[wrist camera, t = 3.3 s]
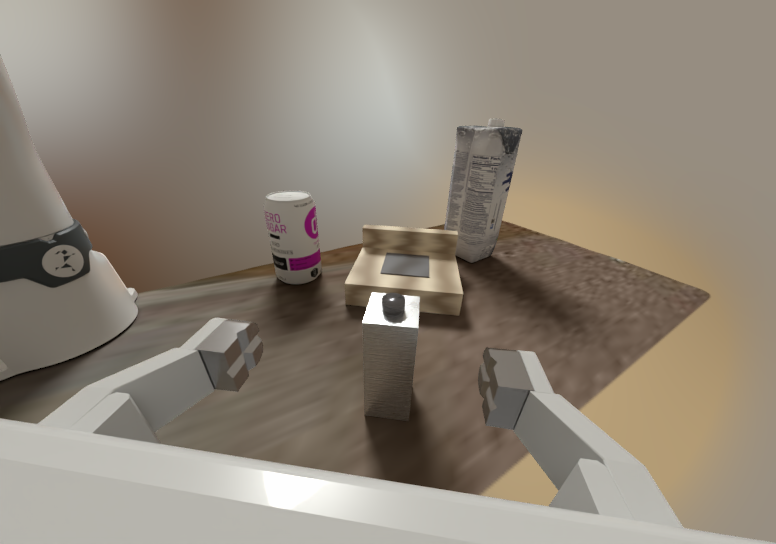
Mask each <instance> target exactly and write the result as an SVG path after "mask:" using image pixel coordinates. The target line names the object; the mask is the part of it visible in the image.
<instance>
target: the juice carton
mask: <svg viewBox="0 0 776 544" xmlns="http://www.w3.org/2000/svg"><path fill="white" fill-rule="evenodd" d="M504 123H505V120H502V119H489V123H488V127H484V126H459V127H457V136H456V146H455V153H454V161H453V168H452V176H451V183H450V191H449V199H448V206H447V213H446V221H445V229H444V230H450V231H457V232H458V239H457V245H456V252H455V255H456V256H458V257H460V258H462V259H464V260H466V261H468V262H471V263H473V262H476V261H478V260H481V259H483V258H486V257H489V256H491V254H492V252H493V250H494V247H495V245H496V242H497V238H498V234H499V229H500V225H501V221H502V216H503V212H504V208H505V203H506V199H507V195H508V191H509V187H510V182H511V178H512V174H513V169H514V165H515V161H516V156H517V151H518V146H519V142H520V137H521V134H522V129H520V128H512V127H504Z"/></svg>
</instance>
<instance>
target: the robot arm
mask: <svg viewBox="0 0 776 544" xmlns="http://www.w3.org/2000/svg"><path fill="white" fill-rule="evenodd" d="M91 249H92V244H91V242H90V241H89V238H88V235H87V233H86V231H85V230H84V229H83V228H82V226H81V225H80V223H79V222H78V221H77V220H75V219H72V218H71V216H70V214H69V212H68V210H67V208H66V206H65V204H64V202H63V201H62V199H61V197H60V195H59V193H58V191H57V190H56V188H55V186H54V184H53V182H52V180H51V179H50V177H49V175H48V173H47V171H46V169H45V167H44V166H43V164H42V162H41V159H40V157H39V155H38V153H37V151H36V149H35V147H34V144H33V142H32V139H31V136H30V134H29V131H28V128H27V125H26V122H25V118H24V115H23V113H22V110H21V107H20V104H19V101H18V99H17V96H16V93H15V90H14V88H13V85H12V83H11V80H10V78H9V75H8V72H7V70H6V68H5V65H4V63H3V61H2V58H1V56H0V381H1V380H4V379H6V378H9V377H11V376H14V375H16V374H19V373H23V372H26V371H30V370H34V369H39V368H43V367H46V366H50V365H53V364H57V363H60V362H63V361H66V360H68V359H71V358H74V357H76V356H79V355H81V354H83V353H86V352H88V351H90V350H92V349H94V348H96V347H98V346H100V345H102V344H104V343H105V342H107V341H109V340H110V339H112V338H114V337H115V336H117V335H118V334H119V333H121V332H122V331H123V330H125V329H126V328H127V327H128V326H129V325H130V324H131V323H132V322H133V321H134V319H135V318H136V316H137V313H138V308H137V306H136V305H135V302H134V301H135V300H136V298H137V295H138V294H137V292H136V291H135V289H133V288H126V286H125V285H124V283H123V282H122V280H121V279H120V277H119V276H118V274H117V273H116V271H115V270H114V268H113V267H112V265H111V264H110V262H109V261H108V259H107V258H106V257H105V255H103V254H102V253H99V252H96V251H92V250H91ZM258 332H259V328H258V325H257V324H256V323H254V322H248V321H240V320H233V319H223V318H213V319H211V320H210V321H209V322H208V323H207V324H206V325H204V326H203V327H202V328H201V329H200V330H199V331H198V332H197V333H196V334H194V335H193V336H192V337H191V338H190V339H189V340H188V341H187V342H186V343H185V344H183V345H182V346H181V347H180V348H173V349H171V350H169V351H167V352H164V353H162V354H160V355H157V356H155V357H153V358H150V359H148V360H146V361H143V362H141V363H139V364H136V365H134V366H132V367H130V368H127V369H125V370H123V371H120V372H118V373H116V374H113V375H111V376H109V377H106V378H104V379H102V380H99V381H97V382H95V383H93V384H90V385H88V386H86V387H85V388H83V389H82V390H81V391H79V392H78V393H77V394H76V395H74V396H73V397H72V398H70V399H69V400H68V401H66V402H65V403H64V404H63V405H61V406H60V407H59V408H57V409H56V410H55V411H54V412H52V413H51V414H50V415H48V416H47V417H46V418H45V419H43V420H42V421H41V422H39V423H38V424H32V423H26V422H20V421H14V420H8V419H1V418H0V544H776V543H773V542H767V541H761V540H754V539H748V538H742V537H736V536H730V535H723V534H717V533H711V532H705V531H698V530H692V529H686V528H683V527H682V525H681V523H680V522H679V520H678V518H677V517H676V515H675V513H674V512H673V510H672V509H671V507H670V506H669V504H668V503H667V501H666V499H665V498H664V496H663V494H662V493H661V491H660V489H659V488H658V486H657V485H656V483H655V481H654V480H653V478H652V477H651V475H650V474H649V472H648V470H647V469H646V467H645V466H644V465H643V464H642V463H641V462H639V461H638V460H637V459H636V458H635V457H633V456H632V455H631V454H630V453H629V452H627V451H626V450H625V449H624V448H622V447H621V446H620V445H619V444H618V443H617V442H615V441H614V440H613V439H612V438H611V437H610V436H608V435H607V434H606V433H605V432H604V431H602V430H601V429H600V428H599V427H598V426H596V425H595V424H594V423H593V422H592V421H590V420H589V419H588V418H587V417H586V416H585V415H583V414H582V413H581V412H580V411H579V410H577V409H576V408H575V407H574V406H573V405H571V404H570V403H569V402H568V401H567V400H565V399H564V398H563V397H562V396H561V395H559V394H554V392H553V390H552V387H551V385H550V383H549V381H548V379H547V377H546V375H545V373H544V370H543V368H542V366H541V364H540V362H539V360H538V358H537V356H536V354H535V353H534V352H530V351H519V350H517V351H516V350H507V349H497V348H487V347H486V349H485V350H484V353H483V359H484V363H483V364H482V365H480V369H479V375H478V385H479V392H480V395H481V396H482V397H483V398H484V401H483V405H482V408H483V413H484V419H485V424H486V425H487V426H493V427H499V428H505V429H511V430H514V432H515V434H516V435H517V436H518V438H519V439H520V440H521V442H522V443H523V444H524V446H525V447H526V448H527V450H528V451H529V452H530V454H531V455H532V456H533V457H534V459H535V460H536V461H537V463H538V464H539V465H540V466H541V468H542V469H543V471H544V472H545V473H546V474H547V476H548V477H549V478H550V480H551V481H552V482H553V484H554V485H555V486H556V488H557V489H558V490H559V491H558V493H557V494H556V496H555V497H554V499H553V500H552V502H551V504H550V505H549V507H548V506H542V505H535V504H530V503H523V502H517V501H510V500H505V499H498V498H492V497H486V496H480V495H474V494H467V493H461V492H455V491H449V490H443V489H436V488H430V487H424V486H418V485H411V484H405V483H399V482H393V481H387V480H380V479H374V478H368V477H362V476H356V475H350V474H343V473H337V472H331V471H325V470H319V469H312V468H306V467H300V466H294V465H288V464H281V463H275V462H269V461H263V460H256V459H250V458H244V457H238V456H231V455H225V454H219V453H213V452H206V451H200V450H194V449H188V448H182V447H175V446H169V445H163V444H161V442H160V440H159V439H158V437H157V436H156V434H155V433H154V432H156V431H157V430H159V429H160V428H162V427H163V426H164V425H166V424H167V423H169V422H170V421H172V420H173V419H174V418H176V417H177V416H179V415H180V414H182V413H183V412H184V411H186V410H187V409H189V408H190V407H192V406H193V405H194V404H196V403H197V402H199V401H200V400H202V399H203V398H204V397H206V396H207V395H209V394H210V393H212V392H213V391H214V389H218V390H227V391H237V392H238V391H239V389H240V388H241V386H242V385H243V384H244V382H245V381H246V379H247V378H248V377H249V371H248V370H250V369H252V368H253V367H255V366H256V365H257V364H258V362H259V361H260V359H261V356H262V353H263V343H262V340H261V339H260V338H259V337H258V336H257V334H258Z"/></svg>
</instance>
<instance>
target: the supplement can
mask: <svg viewBox="0 0 776 544" xmlns="http://www.w3.org/2000/svg"><path fill="white" fill-rule="evenodd" d="M263 208H264V213H265V218H266V224H267V229H268V234H269V239H270V245H271V250H272V255H273V260H274V265H275V271H276V276H277V277H278V279H280V280H282V281H283V282H285V283H288V284H303V283H308V282H310V281H313V280H314V279H316V278H317V277H318V275H320V273H321V272H322V268H321V258H320V248H319V238H318V228H317V218H316V208H315V202H314V200H313V199H312V197H311V196H310V193H308V192H304V191H279V192H274V193H270V194H268V195H267V196H266V201H265V203H264V206H263Z"/></svg>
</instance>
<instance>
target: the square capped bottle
mask: <svg viewBox="0 0 776 544" xmlns="http://www.w3.org/2000/svg"><path fill="white" fill-rule="evenodd" d="M419 302H420V297H418V296H408V295H401V294H399V293H387V294H386V293H375V292H372V294H371V297H370V300H369V304H368V307H367V310H366V313H365V316H364V319H363V322H362V325H363V370H364V415H366V416H373V417H381V418H388V419H395V420H403V421H409V414H410V404H411V395H412V385H413V375H414V365H415V356H416V346H417V336H418V325H419Z"/></svg>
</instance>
